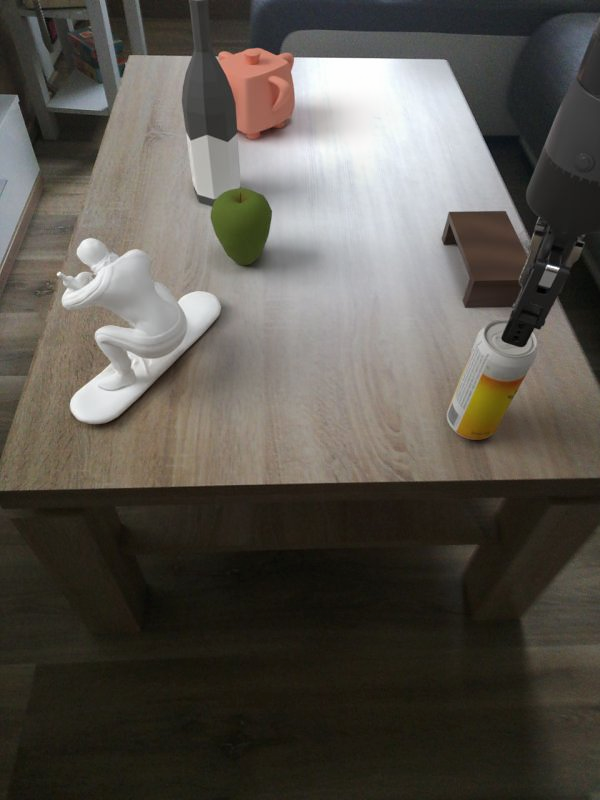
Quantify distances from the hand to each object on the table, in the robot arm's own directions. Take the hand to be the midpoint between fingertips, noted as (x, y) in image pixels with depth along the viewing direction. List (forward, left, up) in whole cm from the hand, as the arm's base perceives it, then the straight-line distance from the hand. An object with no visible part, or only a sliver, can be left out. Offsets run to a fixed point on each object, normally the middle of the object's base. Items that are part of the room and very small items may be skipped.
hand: (521, 312), depth 53 cm
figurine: (+40, +8, -19) cm, 45 cm away
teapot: (+57, -52, -19) cm, 79 cm away
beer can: (0, 0, -19) cm, 19 cm away
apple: (+39, -15, -19) cm, 46 cm away
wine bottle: (+51, -28, -19) cm, 61 cm away
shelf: (+5, -29, -18) cm, 35 cm away
